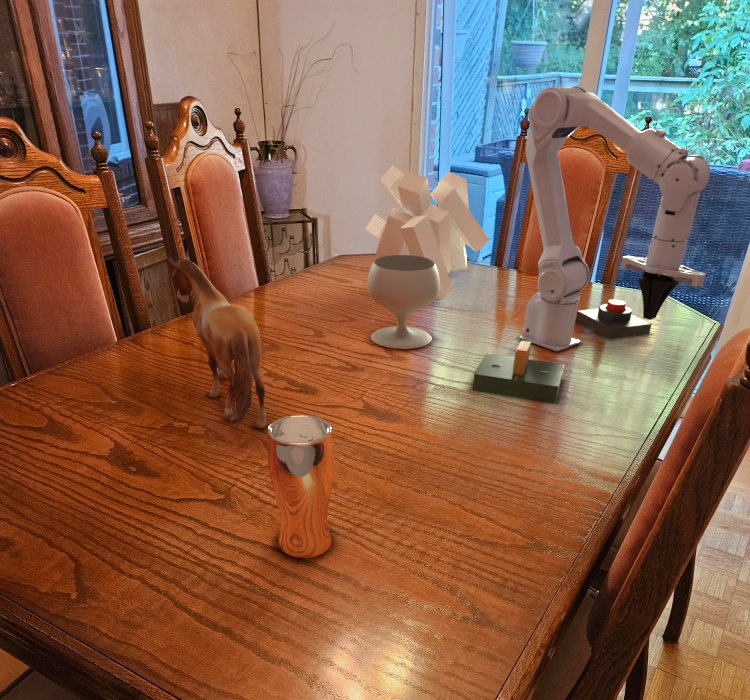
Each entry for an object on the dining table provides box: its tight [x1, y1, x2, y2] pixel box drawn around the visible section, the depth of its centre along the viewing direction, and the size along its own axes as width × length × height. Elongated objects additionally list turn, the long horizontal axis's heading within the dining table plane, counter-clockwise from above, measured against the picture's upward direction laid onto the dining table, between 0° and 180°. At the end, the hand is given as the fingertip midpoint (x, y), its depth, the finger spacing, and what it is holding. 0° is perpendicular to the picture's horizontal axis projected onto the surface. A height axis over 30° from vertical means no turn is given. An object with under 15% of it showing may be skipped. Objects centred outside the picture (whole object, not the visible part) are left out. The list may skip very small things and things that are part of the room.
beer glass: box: [267, 414, 335, 559], centre depth 74 cm, size 7×7×15 cm
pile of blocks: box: [365, 165, 490, 301], centre depth 159 cm, size 35×30×35 cm
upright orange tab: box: [513, 340, 532, 375], centre depth 113 cm, size 6×2×4 cm, turn 161°
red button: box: [606, 299, 627, 312], centre depth 139 cm, size 4×4×2 cm
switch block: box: [575, 303, 652, 340], centre depth 141 cm, size 12×10×4 cm
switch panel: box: [472, 353, 565, 404], centre depth 115 cm, size 14×10×3 cm
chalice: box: [366, 255, 440, 350], centre depth 129 cm, size 14×14×15 cm
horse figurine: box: [167, 256, 267, 429], centre depth 101 cm, size 31×8×21 cm, turn 26°
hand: (649, 317), depth 119 cm, fingers closed
